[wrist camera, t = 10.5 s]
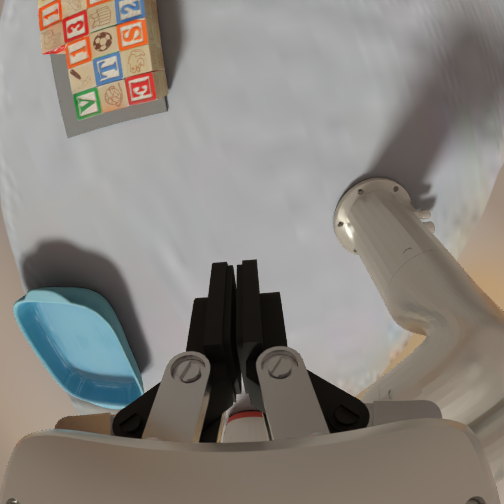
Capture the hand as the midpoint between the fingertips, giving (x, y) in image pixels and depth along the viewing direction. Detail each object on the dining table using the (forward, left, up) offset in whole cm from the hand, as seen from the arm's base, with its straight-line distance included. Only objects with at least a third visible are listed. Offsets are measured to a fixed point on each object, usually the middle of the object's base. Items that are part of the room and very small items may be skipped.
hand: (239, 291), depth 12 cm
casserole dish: (+35, +34, -29) cm, 57 cm away
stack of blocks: (+6, -17, -25) cm, 30 cm away
